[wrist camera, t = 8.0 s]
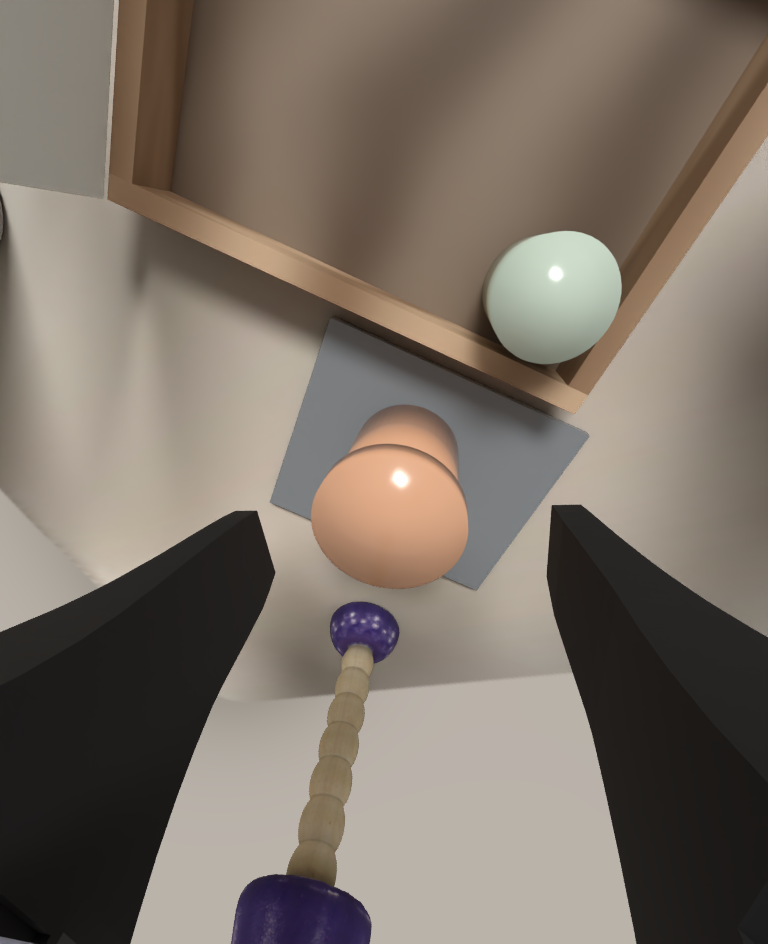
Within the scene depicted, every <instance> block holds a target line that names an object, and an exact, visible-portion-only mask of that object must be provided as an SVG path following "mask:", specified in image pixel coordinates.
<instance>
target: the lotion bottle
mask: <svg viewBox="0 0 768 944" xmlns="http://www.w3.org/2000/svg"><path fill="white" fill-rule="evenodd" d="M2 233H3V211H2V205H1V201H0V240H1V237H2Z"/></svg>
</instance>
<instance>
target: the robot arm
mask: <svg viewBox="0 0 768 944" xmlns="http://www.w3.org/2000/svg"><path fill="white" fill-rule="evenodd" d="M274 576H275V570H274V566H273V563H272V560H271V556H270V553H269V550H268V546H267V543H266V540H265V536H264V533H263V529H262V526H261V523H260V519H259V516H258V513H257V511H235V512H232V513H230V514H228V515H226V516H224V517H222V518H220V519H219V520H217V521H215V522H213V523H212V524H210V525H208V526H206V527H205V528H203V529H201V530H200V531H198V532H196V533H195V534H193V535H191V536H190V537H188V538H186V539H185V540H183V541H181V542H180V543H178V544H176V545H175V546H173V547H171V548H170V549H168V550H167V551H165V552H163V553H162V554H160V555H158V556H156V557H155V558H153V559H151V560H149V561H148V562H146V563H144V564H142V565H140V566H139V567H137V568H135V569H133V570H132V571H130V572H128V573H126V574H124V575H123V576H121V577H119V578H117V579H116V580H114V581H112V582H110V583H108V584H106V585H104V586H102V587H100V588H98V589H96V590H94V591H92V592H90V593H88V594H86V595H84V596H82V597H80V598H78V599H76V600H74V601H71V602H69V603H67V604H65V605H63V606H61V607H59V608H56V609H54V610H52V611H50V612H47V613H45V614H42V615H40V616H38V617H35V618H33V619H30V620H28V621H26V622H23V623H21V624H18V625H16V626H14V627H11V628H9V629H7V630H5V631H2V632H0V944H130V943H131V939H132V936H133V932H134V929H135V925H136V922H137V918H138V915H139V912H140V909H141V905H142V902H143V899H144V896H145V892H146V889H147V886H148V883H149V879H150V876H151V873H152V870H153V866H154V863H155V860H156V856H157V853H158V851H159V848H160V845H161V842H162V839H163V836H164V833H165V830H166V827H167V824H168V821H169V818H170V815H171V813H172V810H173V807H174V803H175V801H176V798H177V795H178V793H179V790H180V787H181V784H182V782H183V779H184V777H185V774H186V771H187V769H188V766H189V763H190V761H191V758H192V755H193V753H194V750H195V748H196V745H197V742H198V740H199V738H200V735H201V733H202V730H203V728H204V726H205V723H206V721H207V718H208V716H209V713H210V711H211V708H212V706H213V704H214V702H215V700H216V698H217V696H218V694H219V692H220V689H221V687H222V685H223V684H224V682H225V680H226V678H227V676H228V674H229V672H230V670H231V668H232V667H233V665H234V663H235V661H236V659H237V657H238V655H239V653H240V651H241V650H242V648H243V646H244V644H245V642H246V640H247V638H248V636H249V634H250V632H251V630H252V629H253V627H254V625H255V623H256V621H257V619H258V617H259V615H260V613H261V611H262V609H263V607H264V604H265V601H266V599H267V596H268V593H269V591H270V588H271V585H272V582H273V579H274ZM547 580H548V586H549V591H550V597H551V602H552V607H553V612H554V616H555V619H556V623H557V626H558V629H559V632H560V635H561V638H562V641H563V644H564V647H565V650H566V653H567V656H568V659H569V663H570V666H571V669H572V672H573V675H574V678H575V681H576V684H577V687H578V690H579V693H580V696H581V699H582V702H583V705H584V708H585V711H586V714H587V718H588V721H589V725H590V728H591V732H592V735H593V739H594V744H595V748H596V752H597V757H598V761H599V766H600V769H601V774H602V779H603V783H604V787H605V792H606V796H607V801H608V806H609V811H610V815H611V820H612V825H613V829H614V834H615V838H616V843H617V847H618V853H619V858H620V862H621V868H622V873H623V877H624V883H625V888H626V892H627V897H628V903H629V907H630V912H631V917H632V922H633V927H634V932H635V938H636V943H637V944H768V637H766V636H764V635H763V634H761V633H759V632H757V631H756V630H754V629H752V628H750V627H749V626H747V625H746V624H744V623H742V622H741V621H739V620H737V619H736V618H734V617H732V616H731V615H729V614H727V613H726V612H724V611H722V610H721V609H719V608H717V607H716V606H714V605H713V604H711V603H710V602H708V601H706V600H705V599H703V598H702V597H700V596H699V595H697V594H696V593H694V592H693V591H691V590H690V589H688V588H687V587H686V586H684V585H683V584H681V583H680V582H678V581H677V580H676V579H674V578H673V577H671V576H670V575H668V574H667V573H666V572H664V571H663V570H661V569H660V568H659V567H657V566H656V565H655V564H653V563H652V562H651V561H649V560H648V559H647V558H645V557H644V556H643V555H642V554H640V553H639V552H638V551H636V550H635V549H634V548H633V547H631V546H630V545H629V544H628V543H626V542H625V541H624V540H623V539H622V538H620V537H619V536H618V535H617V534H615V533H614V532H613V531H612V530H611V529H609V528H608V527H607V526H606V525H605V524H603V523H602V522H601V521H600V520H599V519H598V518H596V517H595V516H594V515H593V514H592V513H590V512H589V511H588V510H587V509H586V508H584V507H583V506H582V505H552V510H551V523H550V537H549V551H548V565H547Z"/></svg>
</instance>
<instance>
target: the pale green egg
mask: <svg viewBox="0 0 768 944" xmlns="http://www.w3.org/2000/svg"><path fill="white" fill-rule="evenodd" d="M621 288H622V283H621V275H620V271H619V267H618V265H617V262H616V260H615V258H614V257H613V255H612V253H611V252H610V251H609V250H608V248H607V247H606V246H605V245H604V244H602V243H601V242H600V241H599V240H597V239H595V238H594V237H592V236H589V235H587V234H584V233H580V232H575V231H559V232H552V233H547V234H541V235H536V236H531V237H526V238H523V239H521V240H518V241H516V242H514V243H512V244H511V245H510V246H508V247H507V248H505V249H504V250H503V251H502V252H501V253H500V254H499V255H498V256H497V257H496V259H495V260H494V261H493V263H492V264H491V266H490V268H489V270H488V272H487V274H486V277H485V281H484V284H483V293H482V298H483V306H484V310H485V313H486V315H487V317H488V319H489V321H490V323H491V325H492V327H493V329H494V331H495V333H496V335H497V337H498V338H499V340H500V342H501V343H502V344H503V346H504V347H505V348H506V349H507V350H508V351H509V352H511V353H512V354H513V355H515V356H517V357H518V358H520V359H522V360H525V361H528V362H532V363H536V364H554V363H560V362H563V361H567V360H570V359H572V358H574V357H577V356H578V355H580V354H582V353H584V352H585V351H587V350H588V349H589V348H591V347H592V346H593V345H594V344H595V343H596V342H598V340H599V339H600V338H601V337H602V336H603V335H604V334H605V332H606V331H607V330H608V328H609V327H610V325H611V323H612V321H613V320H614V317H615V315H616V313H617V310H618V307H619V303H620V298H621Z"/></svg>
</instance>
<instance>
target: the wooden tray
mask: <svg viewBox="0 0 768 944" xmlns="http://www.w3.org/2000/svg"><path fill="white" fill-rule="evenodd" d="M767 136H768V0H119V12H118V29H117V46H116V63H115V81H114V98H113V115H112V132H111V149H110V166H109V183H108V200H110V201H112V202H114V203H116V204H119V205H121V206H123V207H125V208H127V209H129V210H132V211H134V212H136V213H138V214H140V215H142V216H145V217H147V218H149V219H151V220H153V221H156V222H158V223H160V224H162V225H164V226H166V227H169V228H171V229H173V230H175V231H177V232H179V233H182V234H184V235H186V236H188V237H190V238H192V239H195V240H197V241H199V242H201V243H203V244H205V245H208V246H210V247H212V248H214V249H216V250H219V251H221V252H223V253H225V254H227V255H229V256H232V257H234V258H236V259H238V260H240V261H242V262H245V263H247V264H249V265H251V266H253V267H255V268H258V269H260V270H262V271H264V272H266V273H269V274H271V275H273V276H275V277H277V278H279V279H282V280H284V281H286V282H288V283H290V284H292V285H295V286H297V287H299V288H301V289H303V290H305V291H308V292H310V293H312V294H314V295H316V296H319V297H321V298H323V299H325V300H327V301H329V302H332V303H334V304H336V305H338V306H340V307H342V308H345V309H347V310H349V311H351V312H353V313H355V314H358V315H360V316H362V317H364V318H366V319H369V320H371V321H373V322H375V323H377V324H379V325H382V326H384V327H386V328H388V329H390V330H392V331H395V332H397V333H399V334H401V335H403V336H405V337H408V338H410V339H412V340H414V341H416V342H418V343H421V344H423V345H425V346H427V347H429V348H432V349H434V350H436V351H438V352H440V353H442V354H445V355H447V356H449V357H451V358H453V359H455V360H458V361H460V362H462V363H464V364H466V365H468V366H471V367H473V368H475V369H477V370H479V371H482V372H484V373H486V374H488V375H490V376H492V377H495V378H497V379H499V380H501V381H503V382H505V383H508V384H510V385H512V386H514V387H516V388H518V389H521V390H523V391H525V392H527V393H529V394H532V395H534V396H536V397H538V398H540V399H542V400H545V401H547V402H549V403H551V404H553V405H555V406H558V407H560V408H562V409H564V410H566V411H568V412H571V413H573V414H575V413H576V412H577V410H578V409H579V407H580V406H581V405H582V403H583V402H584V400H585V399H586V397H587V396H588V394H589V393H590V392H591V390H592V389H593V387H594V386H595V384H596V383H597V381H598V380H599V379H600V377H601V376H602V374H603V373H604V371H605V370H606V368H607V367H608V366H609V364H610V363H611V361H612V360H613V358H614V357H615V355H616V354H617V353H618V351H619V350H620V348H621V347H622V345H623V344H624V342H625V341H626V340H627V338H628V337H629V335H630V334H631V332H632V331H633V329H634V328H635V327H636V325H637V324H638V322H639V321H640V319H641V318H642V316H643V315H644V314H645V312H646V311H647V309H648V308H649V306H650V305H651V303H652V302H653V301H654V299H655V298H656V296H657V295H658V293H659V292H660V290H661V289H662V288H663V286H664V285H665V283H666V282H667V280H668V279H669V277H670V276H671V275H672V273H673V272H674V270H675V269H676V267H677V266H678V264H679V263H680V262H681V260H682V259H683V257H684V256H685V254H686V253H687V251H688V250H689V249H690V247H691V246H692V244H693V243H694V241H695V240H696V238H697V237H698V236H699V234H700V233H701V231H702V230H703V228H704V227H705V225H706V224H707V223H708V221H709V220H710V218H711V217H712V215H713V214H714V212H715V211H716V210H717V208H718V207H719V205H720V204H721V202H722V201H723V199H724V198H725V197H726V195H727V194H728V192H729V191H730V189H731V188H732V186H733V185H734V184H735V182H736V181H737V179H738V178H739V176H740V175H741V173H742V172H743V170H744V169H745V168H746V166H747V165H748V163H749V162H750V160H751V159H752V157H753V156H754V155H755V153H756V152H757V150H758V149H759V147H760V146H761V144H762V143H763V142H764V140H765V139H766V137H767ZM559 231H575V232H580V233H584V234H587V235H589V236H592V237H594V238H595V239H597V240H599V241H600V242H601V243H602V244H604V245H605V246H606V247H607V248H608V250H609V251H610V252H611V253H612V255H613V257H614V258H615V260H616V262H617V265H618V267H619V271H620V275H621V283H622V288H621V298H620V303H619V307H618V310H617V313H616V315H615V317H614V320H613V321H612V323H611V325H610V327H609V328H608V330H607V331H606V332H605V334H604V335H603V336H602V337H601V338H600V339H599V340H598V342H596V343H595V344H594V345H593V346H592V347H591V348H589V349H588V350H587V351H585V352H584V353H582V354H580V355H578V356H577V357H574V358H572V359H570V360H567V361H563V362H560V363H554V364H536V363H532V362H528V361H525V360H522V359H520V358H518V357H517V356H515V355H513V354H512V353H511V352H509V351H508V350H507V349H506V348H505V347H504V346H503V344H502V343H501V342H500V340H499V338H498V337H497V335H496V333H495V331H494V329H493V327H492V325H491V323H490V321H489V319H488V317H487V315H486V313H485V310H484V306H483V298H482V293H483V284H484V281H485V277H486V274H487V272H488V270H489V268H490V266H491V264H492V263H493V261H494V260H495V259H496V257H497V256H498V255H499V254H500V253H501V252H502V251H503V250H504V249H505V248H507V247H508V246H510V245H511V244H512V243H514V242H516V241H518V240H521V239H523V238H526V237H531V236H536V235H541V234H547V233H552V232H559Z"/></svg>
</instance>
